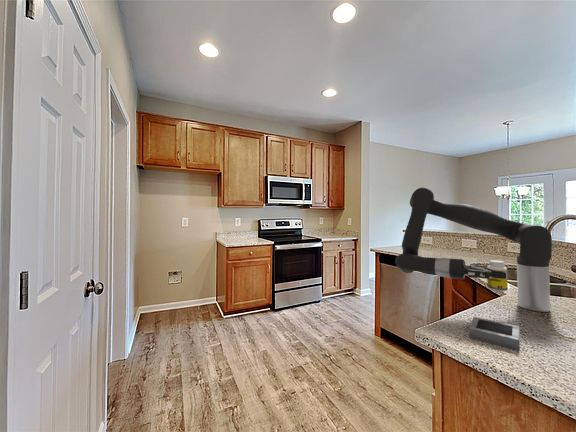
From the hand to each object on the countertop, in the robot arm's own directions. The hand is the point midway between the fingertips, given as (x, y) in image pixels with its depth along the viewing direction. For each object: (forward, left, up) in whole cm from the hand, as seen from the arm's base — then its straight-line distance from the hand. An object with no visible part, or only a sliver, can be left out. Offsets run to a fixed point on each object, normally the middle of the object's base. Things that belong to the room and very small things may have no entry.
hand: (506, 273), depth 88 cm
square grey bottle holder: (+16, -3, -17) cm, 23 cm away
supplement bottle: (0, -3, -6) cm, 7 cm away
